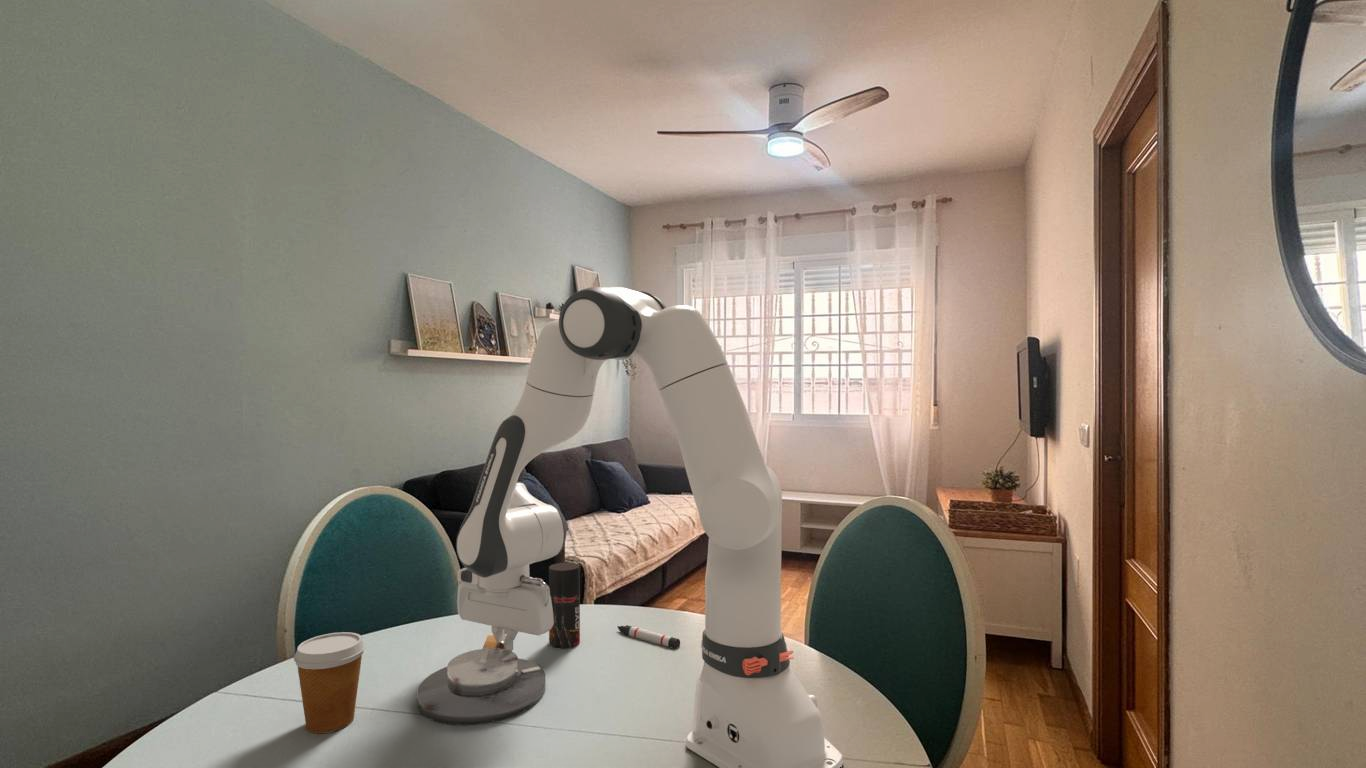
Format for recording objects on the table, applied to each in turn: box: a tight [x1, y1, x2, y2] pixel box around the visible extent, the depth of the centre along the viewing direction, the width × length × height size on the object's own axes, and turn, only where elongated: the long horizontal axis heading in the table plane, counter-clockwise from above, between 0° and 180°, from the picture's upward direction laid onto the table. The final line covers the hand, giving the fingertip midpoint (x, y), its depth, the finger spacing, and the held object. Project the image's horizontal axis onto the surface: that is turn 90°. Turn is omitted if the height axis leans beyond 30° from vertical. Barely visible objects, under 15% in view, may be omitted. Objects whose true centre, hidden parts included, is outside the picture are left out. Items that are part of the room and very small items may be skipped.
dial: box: [446, 634, 519, 696], centre depth 112 cm, size 18×11×3 cm, turn 8°
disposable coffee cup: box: [293, 631, 367, 734], centre depth 99 cm, size 10×10×12 cm
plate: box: [416, 657, 546, 726], centre depth 109 cm, size 20×20×2 cm
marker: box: [617, 624, 681, 649], centre depth 132 cm, size 15×2×2 cm, turn 54°
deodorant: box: [548, 562, 581, 650], centre depth 130 cm, size 6×6×15 cm
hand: (505, 651), depth 118 cm, fingers closed
